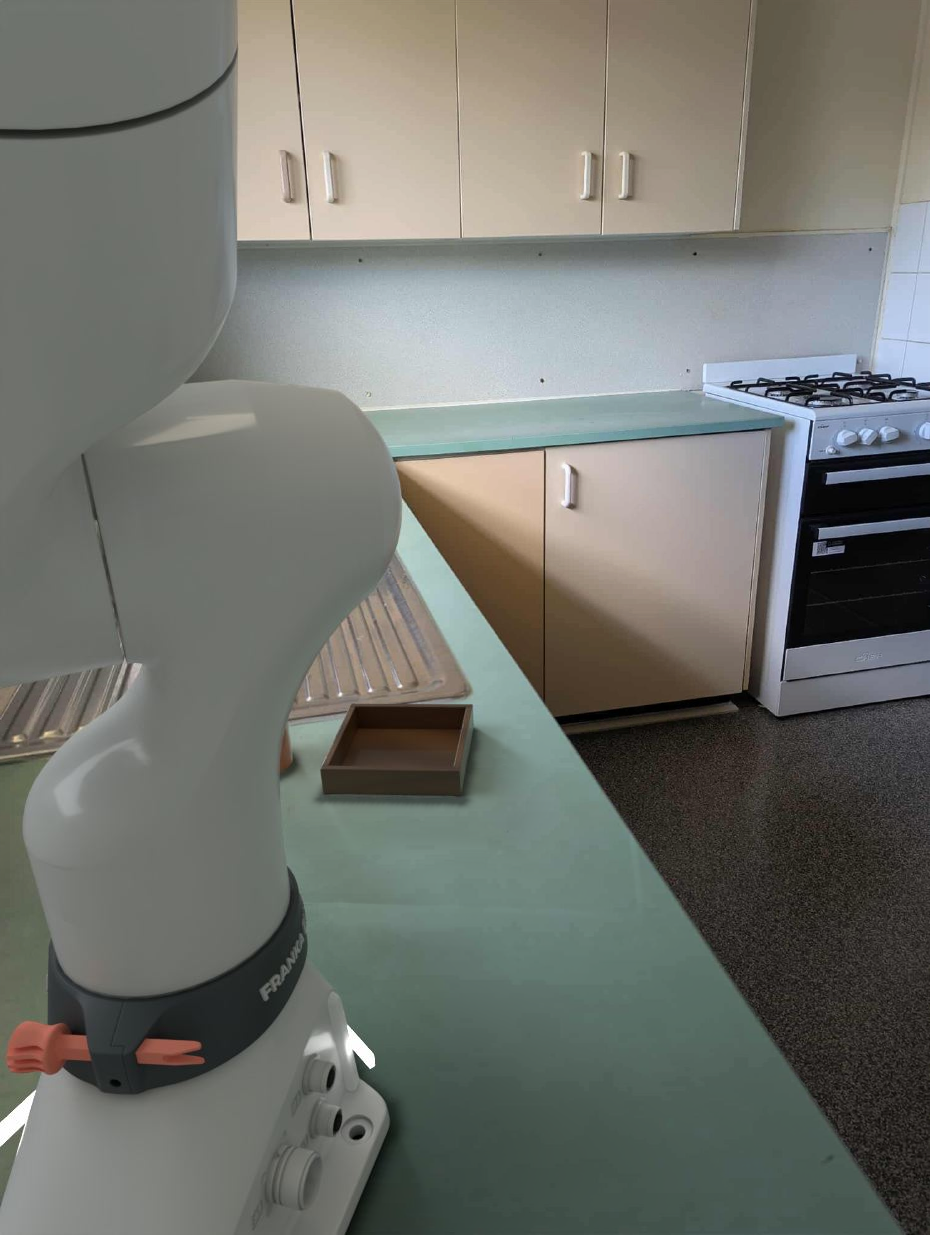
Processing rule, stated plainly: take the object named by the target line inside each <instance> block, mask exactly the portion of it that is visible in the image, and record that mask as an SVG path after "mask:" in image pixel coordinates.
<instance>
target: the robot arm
mask: <svg viewBox="0 0 930 1235" xmlns="http://www.w3.org/2000/svg"><path fill="white" fill-rule="evenodd" d="M238 11H239V10H238V0H0V690H2V689H7V688H10V687H11V688H12V687H16V686H21V685H25V684H26V685H27V684H31V683H35V682H40V681H45V680H50V679H55V678H59V677H64V676H69V675H75V674H78V673H83V672H88V671H93V670H98V669H103V668H107V667H113V666H117V665H122V664H124V659H125V663H126V665H130V664H139V665H141V667H140V669H139V671H138V673H137V675H136V676H135V678H134V680H133V682H132V684H131V685H130V686H129V687H128V689H127V690H126V691H125V692H124V694H122V696H121V697H120V698H119V699H118V700H117V701H116V702H115V703H114V704H112V705H111V706H110V707H109V708H108V709H107V710H105V711H104V712H102V713H101V714H100V715H98V716H97V717H96V718H94V719H93V720H91V721H90V722H88V723H86V725H84V726H83V727H82V728H80V729H79V730H78V731H77V732H75V733H74V734H72V736H71V737H69V738H68V739H67V740H66V741H65V742H64V743H63V744H62V745H61V746H60V747H59V748H58V749H57V750H56V751H55V753H54V754H52V756H51V757H50V758H49V760H48V761H47V762H46V764H45V765H44V766H43V767H42V769H41V770H40V772H39V773H38V775H37V776H36V777H35V780H34V782H33V783H32V786H31V787H30V790H29V792H28V795H27V798H26V801H25V805H24V809H23V813H22V814H23V815H22V838H23V842H24V845H25V849H26V853H27V856H28V860H29V864H30V867H31V870H32V874H33V878H34V881H35V884H36V888H37V891H38V895H39V898H40V902H41V906H42V909H43V913H44V917H45V921H46V924H47V927H48V930H49V934H50V941H49V943H48V944H49V945H48V960H47V973H46V974H45V992H47V1024H45V1023H41V1022H36V1021H34V1020H33V1021H31V1020H26V1021H23V1022H21V1023H20V1024H18V1025H17V1027H16V1028H15V1029H14V1031H13V1033H12V1034H11V1035H10V1038H9V1040H8V1044H7V1049H8V1050H7V1051H6V1054H5V1060H6V1061H7V1062H6V1066H7V1069H9V1072H10V1073H12V1074H30V1073H35V1072H40V1073H41V1074H40V1076H39V1079H38V1082H37V1085H36V1088H35V1090H34V1091H33V1092H32V1093H31V1094H30V1095H29V1096H28V1097H26V1098H25V1100H23V1101H22V1103H20V1104H19V1105H18V1106H17V1107H16V1108H15V1109H14V1110H13V1111H12V1112H11V1113H9V1114H8V1115H7V1117H5V1118H4V1119H3V1120H2V1121H1V1122H0V1147H1V1146H2V1145H3V1144H4V1143H5V1142H6V1141H7V1140H9V1139H10V1138H11V1137H12V1136H13V1135H14V1134H15V1133H16V1132H17V1131H18V1130H20V1128H21V1127H22V1126H23V1125H24V1126H23V1130H22V1133H21V1137H20V1140H19V1144H18V1147H17V1150H16V1154H15V1156H14V1157H15V1158H14V1160H13V1164H12V1166H11V1171H10V1173H9V1177H8V1180H7V1183H6V1187H5V1190H4V1193H3V1197H2V1200H1V1204H0V1235H346V1233H347V1231H348V1228H349V1226H350V1223H351V1221H352V1219H353V1216H354V1213H355V1211H356V1209H357V1207H358V1204H359V1201H360V1199H361V1197H362V1195H363V1192H364V1189H365V1187H366V1185H367V1183H368V1180H369V1177H370V1176H371V1173H372V1170H373V1168H374V1165H375V1162H376V1160H377V1158H378V1156H379V1153H380V1151H381V1149H382V1146H383V1143H384V1141H385V1138H386V1136H387V1135H388V1134H387V1133H388V1131H389V1129H390V1125H391V1118H390V1114H389V1110H388V1106H387V1102H386V1101H385V1100H384V1098H383V1096H381V1094H380V1093H379V1092H378V1091H376V1090H375V1088H373V1087H372V1086H371V1085H369V1084H368V1083H367V1082H365V1081H364V1080H362V1078H360V1076H359V1072H358V1068H357V1063H356V1058H355V1054H354V1052H355V1053H356V1054H357V1056H359V1058H360V1059H361V1060H362V1061H363V1063H365V1065H366V1066H367V1067H368V1068H369V1069H372V1068H374V1067H375V1066H376V1064H375V1062H376V1061H375V1055H374V1053H373V1052H372V1051H371V1049H369V1048H368V1046H367V1045H366V1044H365V1043H364V1042H363V1041H362V1040H361V1038H360V1037H359V1036H358V1035H357V1034H356V1033H355V1032H354V1031H353V1029H351V1027H350V1026H349V1024H348V1023H347V1018H346V1014H345V1010H344V1009H345V1008H344V1006H343V1002H342V1001H343V1000H342V998H341V997H340V996H339V995H338V993H337V991H336V990H335V989H334V987H333V986H332V985H331V984H330V983H329V981H328V980H327V979H326V978H325V977H324V976H323V974H322V973H321V972H320V970H319V969H318V968H317V966H316V964H315V963H314V962H313V961H312V959H311V957H310V956H309V955H308V948H309V947H308V945H309V944H308V935H307V914H306V910H305V909H306V908H305V903H304V900H303V897H302V894H301V893H300V889H299V885H298V881H297V879H296V876H295V875H294V873H293V871H292V869H291V868H290V867H289V866H288V864H287V855H286V849H285V840H284V829H283V819H282V816H283V815H282V805H281V803H282V802H281V784H280V783H281V782H280V780H281V779H280V773H281V772H280V754H281V747H282V741H283V736H284V732H285V729H286V725H287V722H288V723H289V718H290V715H291V711H292V710H293V706H294V704H295V701H296V699H297V695H298V693H299V691H300V690H301V687H302V685H303V683H304V681H305V678H306V677H307V675H308V673H309V671H310V669H311V668H312V666H313V664H314V663H315V662H316V659H317V657H318V656H319V654H320V653H321V651H322V650H323V648H324V647H325V646H326V644H327V643H328V641H329V640H330V638H331V637H332V636H333V635H334V633H335V632H336V631H337V630H338V628H340V626H342V625H341V624H342V623H343V622H344V621H345V620H346V619H347V618H348V617H349V616H350V614H352V613H353V612H354V611H355V610H356V609H357V608H358V607H359V606H360V605H361V604H362V603H363V602H364V601H365V600H366V599H367V598H369V597H370V596H371V595H372V594H373V593H374V592H375V591H376V589H377V588H378V586H379V585H380V583H382V580H383V579H384V577H385V576H386V573H387V572H388V569H389V568H390V565H391V563H392V561H393V559H394V556H395V553H396V550H397V547H398V544H399V539H400V535H401V529H402V520H403V496H402V489H401V488H402V486H401V482H400V477H399V474H398V470H397V467H396V464H395V461H394V459H393V456H392V453H391V451H390V448H389V446H388V444H387V443H386V441H385V439H384V438H383V436H382V434H381V433H380V430H378V429H377V427H376V426H375V424H374V423H373V422H372V420H371V419H370V417H368V415H367V414H366V413H365V412H364V411H363V410H362V409H361V408H360V407H359V405H357V404H356V403H355V402H354V401H353V400H351V399H350V398H349V397H348V396H347V395H345V394H344V393H343V392H341V391H338V390H337V389H330V388H323V387H315V386H306V385H300V384H299V385H298V384H291V383H284V382H283V383H282V382H272V381H271V382H270V381H259V380H258V381H257V380H246V379H245V380H243V379H235V378H234V379H233V378H232V379H221V380H212V381H211V380H210V381H201V382H199V381H198V382H191V383H190V382H189V383H188V382H187V381H188V380H189V379H190V378H191V377H192V376H193V375H194V374H195V372H196V371H197V370H198V369H199V367H200V366H201V364H202V363H203V362H204V361H205V359H206V357H207V356H208V354H209V353H210V351H211V349H212V348H213V347H214V344H215V343H216V341H217V339H218V337H219V335H220V333H221V331H222V329H223V326H224V324H225V322H226V319H227V317H228V314H229V313H230V309H231V306H232V303H233V300H234V298H235V293H236V289H237V281H238V139H239V138H238V133H239V132H238V131H239V129H238V125H239V124H238V123H239V122H238V119H239V118H238V117H239V116H238V114H239V110H238V108H239V107H238V104H239V103H238V102H239V101H238V100H239V96H238V95H239V93H238V92H239V88H238V86H239V85H238V84H239V41H238V39H239V21H238V20H239V16H238V15H239V13H238ZM186 382H187V383H186ZM123 656H124V658H123ZM356 1136H362V1138H359V1139H353V1138H354V1137H356Z"/></svg>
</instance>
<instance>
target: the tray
mask: <svg viewBox="0 0 930 1235" xmlns="http://www.w3.org/2000/svg"><path fill="white" fill-rule="evenodd" d="M474 729H475V722H474V705H473V704H472V703H454V704H453V703H351V704H350V705H349V707H348V709H347V711H346V714H345V716H344V718H343V720H342V722H341V724H340V726H339V728H338V731H337V732H336V735H335V737H334V739H333V741H332V743H331V744H330V747H329V749H328V752H327V754H326V755H325V758H324V760H323V762H322V764H321V766H320V768H319V771H320V779H321V785H322V788H321V789H322V793H323V795H355V796H356V795H357V796H358V795H361V796H363V795H364V796H365V795H366V796H371V795H372V796H416V797H417V796H420V797H421V796H423V797H427V796H428V797H436V796H437V797H462V794H463V787H464V782H465V777H466V771H467V766H468V761H469V755H470V750H471V745H472V739H473V733H474Z"/></svg>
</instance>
